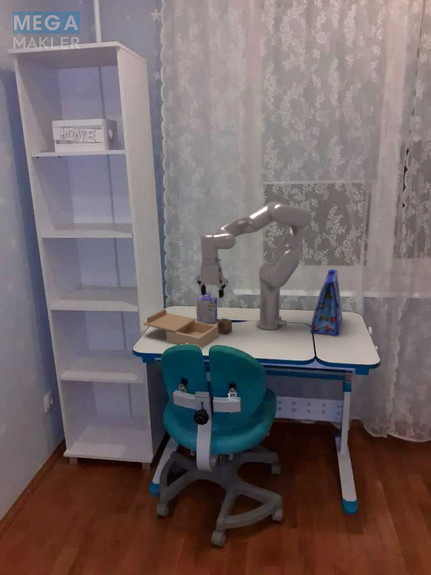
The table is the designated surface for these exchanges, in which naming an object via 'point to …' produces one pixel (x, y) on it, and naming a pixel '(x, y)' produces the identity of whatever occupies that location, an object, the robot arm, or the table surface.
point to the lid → (168, 321)
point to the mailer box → (194, 334)
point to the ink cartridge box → (206, 309)
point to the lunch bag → (328, 307)
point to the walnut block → (224, 326)
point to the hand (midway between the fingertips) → (212, 295)
